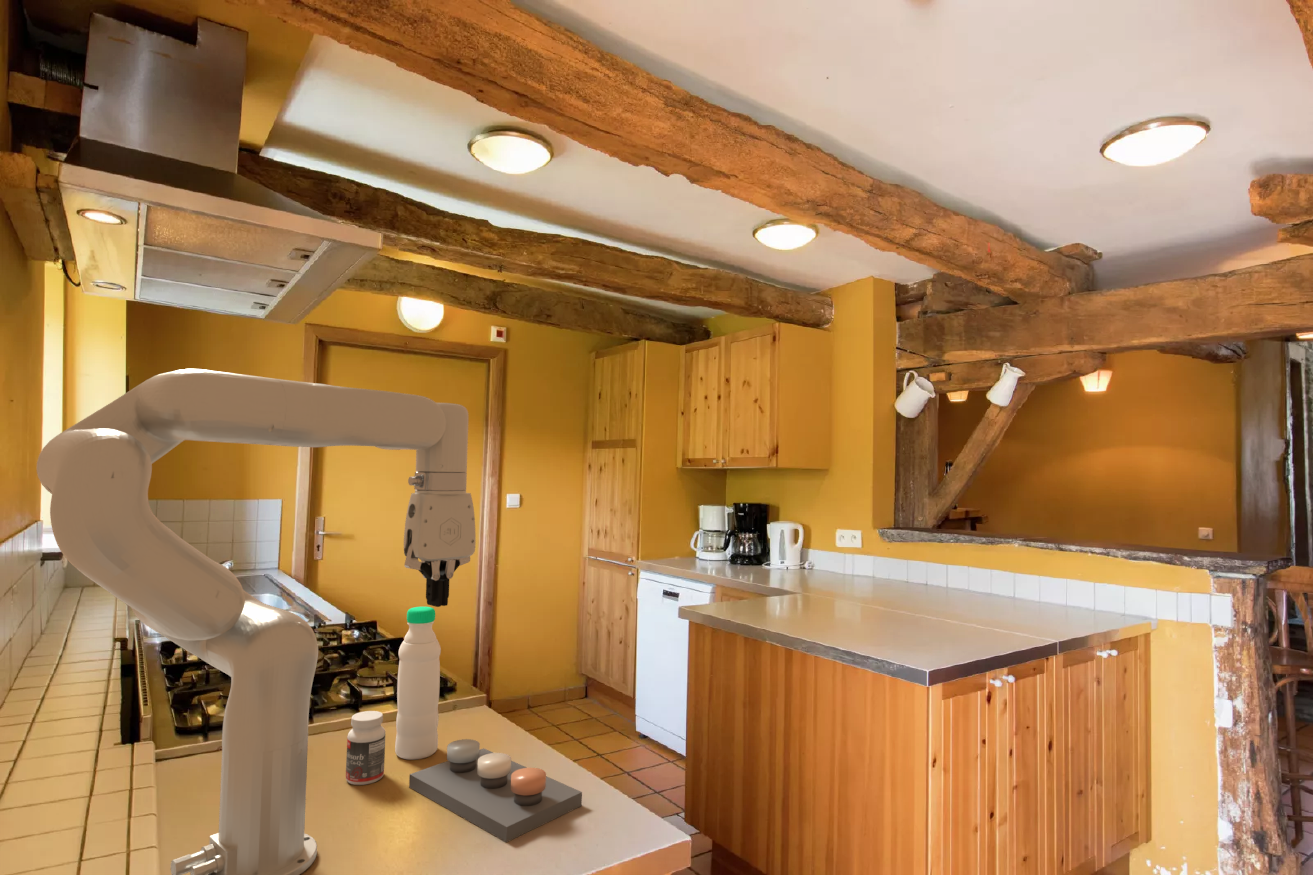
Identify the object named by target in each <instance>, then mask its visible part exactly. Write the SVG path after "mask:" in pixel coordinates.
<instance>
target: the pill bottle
mask: <svg viewBox="0 0 1313 875" xmlns="http://www.w3.org/2000/svg"><path fill="white" fill-rule="evenodd" d="M383 714H384V713H382V712H381V711H377V710H366V711H360V712H356V713H355V714H353V715H351V723H350V726H351V727H352V728H351V729H350V730H349V732H348V733H347V737H346V741H347V742H346V759H345V760H346V762H345V763H346V765H345V780H346V782H347V783H349V784H351V785H354V786H363V785H369V784H374V783H375V782H378V781H379V780H381V779H382V778H383V777H384V773H385V760H386V759H385V758H386V756H385V752H386V729H385V728H384V727H383V725H382V724H383V721H384V715H383Z"/></svg>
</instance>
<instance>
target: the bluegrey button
mask: <svg viewBox="0 0 1313 875" xmlns="http://www.w3.org/2000/svg"><path fill="white" fill-rule="evenodd" d="M446 747H447V748H446V750H447V752H446V759H447V761H450V762H453V763H467V762H471V761H474V760H476V759H478V758H479V750H480V749H481V748H480V747H481V746H480V742H479V741H478V740H475V739H469V738H465V739H457V740H453V741H451V742H449V743H448V744H447V746H446Z"/></svg>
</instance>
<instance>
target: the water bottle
mask: <svg viewBox="0 0 1313 875" xmlns="http://www.w3.org/2000/svg"><path fill="white" fill-rule="evenodd" d="M435 620H436V609H435V608H434V607H432V606H431V607H430V606H415V607H410V608H409V609H408V610H407V612H406V622H407V625H408V631H407V632H406V634H405V636H404V637H403V639H404V640H403V641H402V642H401V644H400V646H399V647H398V648H399V649H398V658H399V661H398V669H397V670H398V671H397V687H396V688H397V689H396V690H397V693H396V698H397V699H396V700H397V702H396V703H397V714H396V719H395V720H396V721H395V722H396V723H395V725H396V726H395V727H396V735H395V736H396V737H395V743H394V745H395V746H394V750H395V751H394V752H395V754H396V755H397V757H399V758H400V759H402V760H403V759H404V760H410V761H411V760H421V759H425V758H428V757H430V756H432V755H434V754H435V753H436V752H437V750H438V749H439V748H438V746H439V734H438V728H439V720H440V719H439V710H438V707H439V699H440V685H441V683H440V681H441V678H440V677H441V676H440V675H441V670H440V669H441V668H440V667H441V664H440V657H441V652H442V649H441V644H440V642H439V641H438V639H437V634H436V633H435V631H434V629H433V625H434V623H435Z"/></svg>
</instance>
